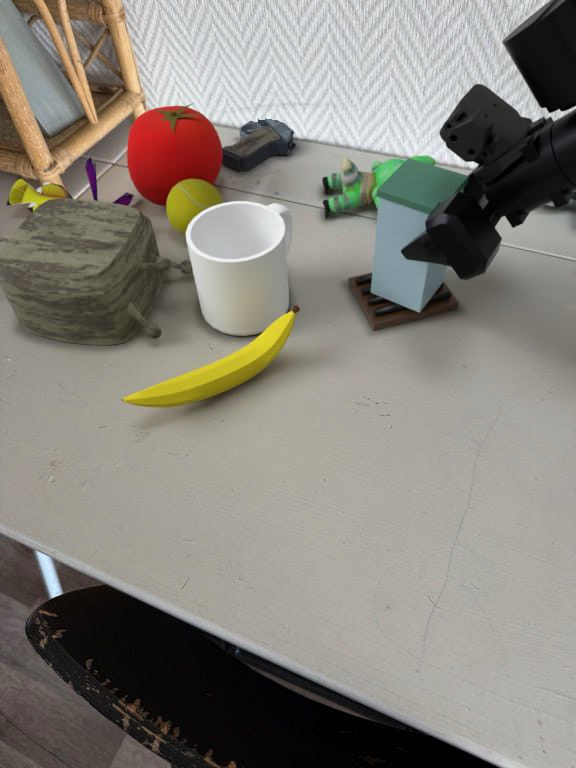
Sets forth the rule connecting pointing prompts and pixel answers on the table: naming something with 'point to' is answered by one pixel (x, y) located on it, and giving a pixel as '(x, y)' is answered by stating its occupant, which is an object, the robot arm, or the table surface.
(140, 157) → the tomato
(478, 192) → the robot arm
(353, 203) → the toy
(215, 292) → the mug
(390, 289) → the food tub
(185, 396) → the banana
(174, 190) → the tennis ball
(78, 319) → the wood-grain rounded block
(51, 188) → the toy
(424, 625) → the table surface
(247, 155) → the handgun
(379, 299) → the dish rack
